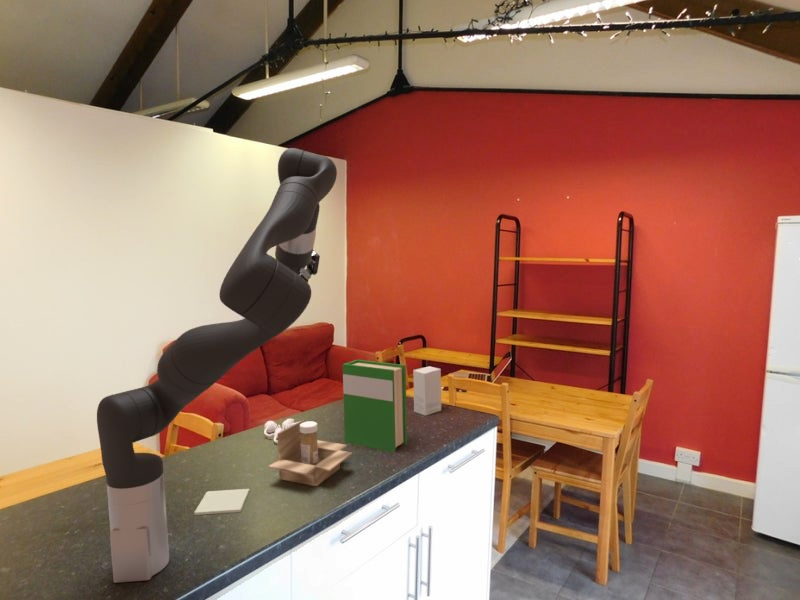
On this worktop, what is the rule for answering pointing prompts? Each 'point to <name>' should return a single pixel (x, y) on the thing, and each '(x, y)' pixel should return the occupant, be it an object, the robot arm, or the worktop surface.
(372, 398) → the hardback book
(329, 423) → the worktop surface
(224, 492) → the coaster
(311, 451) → the sprinkles bottle
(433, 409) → the skincare box
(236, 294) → the robot arm
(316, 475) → the carton
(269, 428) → the tangled rod sculpture
